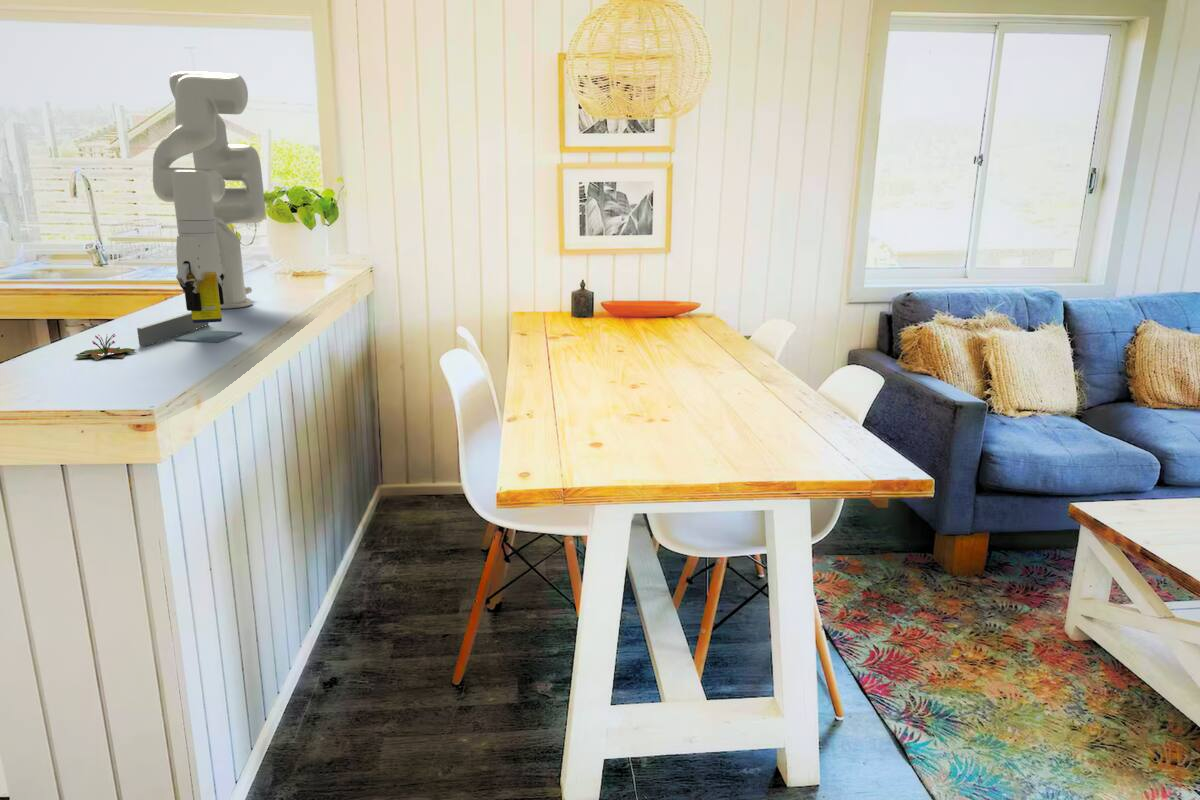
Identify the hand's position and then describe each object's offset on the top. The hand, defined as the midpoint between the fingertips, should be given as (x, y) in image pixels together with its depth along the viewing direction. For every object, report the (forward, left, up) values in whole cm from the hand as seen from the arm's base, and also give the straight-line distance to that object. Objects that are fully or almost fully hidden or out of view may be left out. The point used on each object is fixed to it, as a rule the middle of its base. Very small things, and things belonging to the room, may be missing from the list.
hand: (205, 307), depth 180 cm
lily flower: (+20, -10, -8) cm, 24 cm away
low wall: (0, -8, -7) cm, 11 cm away
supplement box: (0, 0, -3) cm, 3 cm away
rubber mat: (0, 0, -7) cm, 7 cm away
